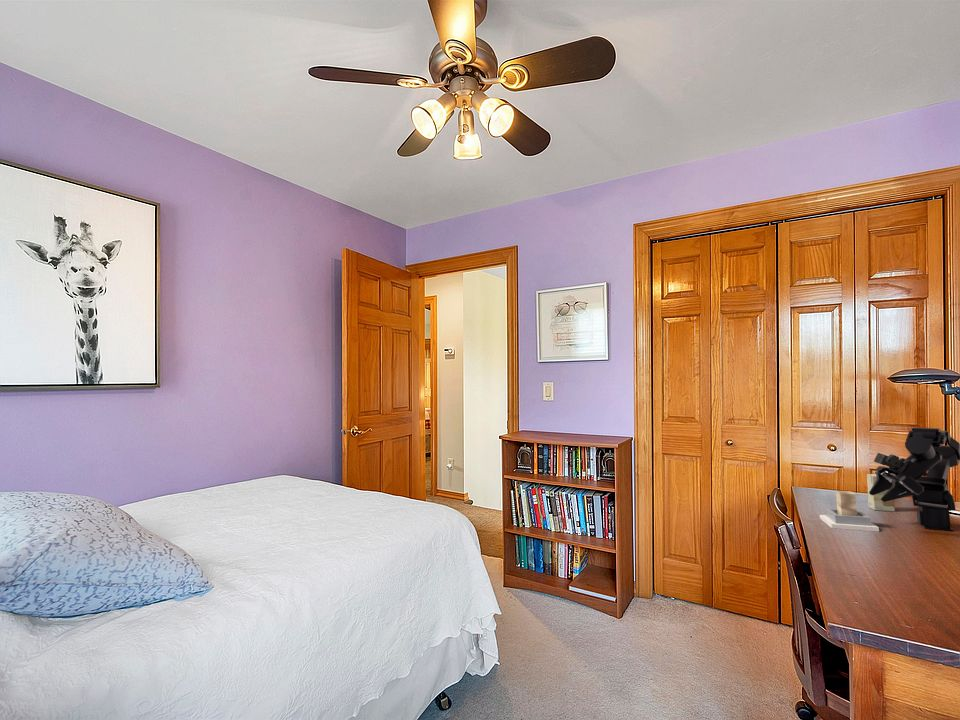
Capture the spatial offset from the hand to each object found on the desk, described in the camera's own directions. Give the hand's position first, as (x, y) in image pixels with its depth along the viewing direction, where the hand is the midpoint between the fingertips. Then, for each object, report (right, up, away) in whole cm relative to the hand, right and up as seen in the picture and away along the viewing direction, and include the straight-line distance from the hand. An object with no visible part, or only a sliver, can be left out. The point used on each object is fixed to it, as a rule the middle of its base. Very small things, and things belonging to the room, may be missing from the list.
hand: (876, 497), depth 146 cm
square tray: (-7, -9, +2) cm, 12 cm away
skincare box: (+18, -10, +19) cm, 28 cm away
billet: (-7, -8, +2) cm, 11 cm away
